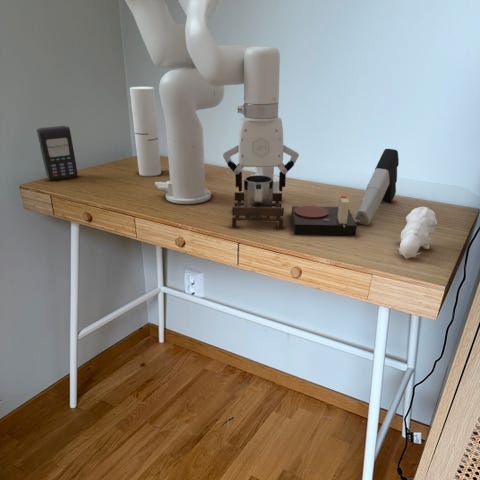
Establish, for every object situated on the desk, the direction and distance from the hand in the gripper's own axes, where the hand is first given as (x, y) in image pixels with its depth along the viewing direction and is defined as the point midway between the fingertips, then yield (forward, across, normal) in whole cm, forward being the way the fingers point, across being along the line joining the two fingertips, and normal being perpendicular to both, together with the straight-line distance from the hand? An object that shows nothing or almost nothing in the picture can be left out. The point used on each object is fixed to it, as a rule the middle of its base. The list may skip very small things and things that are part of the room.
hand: (260, 189), depth 110 cm
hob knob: (+5, +19, -6) cm, 21 cm away
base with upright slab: (+7, +1, +16) cm, 18 cm away
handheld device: (+8, +30, +8) cm, 32 cm away
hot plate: (+5, +12, 0) cm, 13 cm away
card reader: (+6, -62, +34) cm, 71 cm away
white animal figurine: (+9, +32, -17) cm, 38 cm away
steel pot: (+4, -1, 0) cm, 5 cm away
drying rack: (+7, -1, 0) cm, 8 cm away
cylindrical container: (+6, -36, +42) cm, 56 cm away
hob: (+8, +15, -2) cm, 17 cm away
